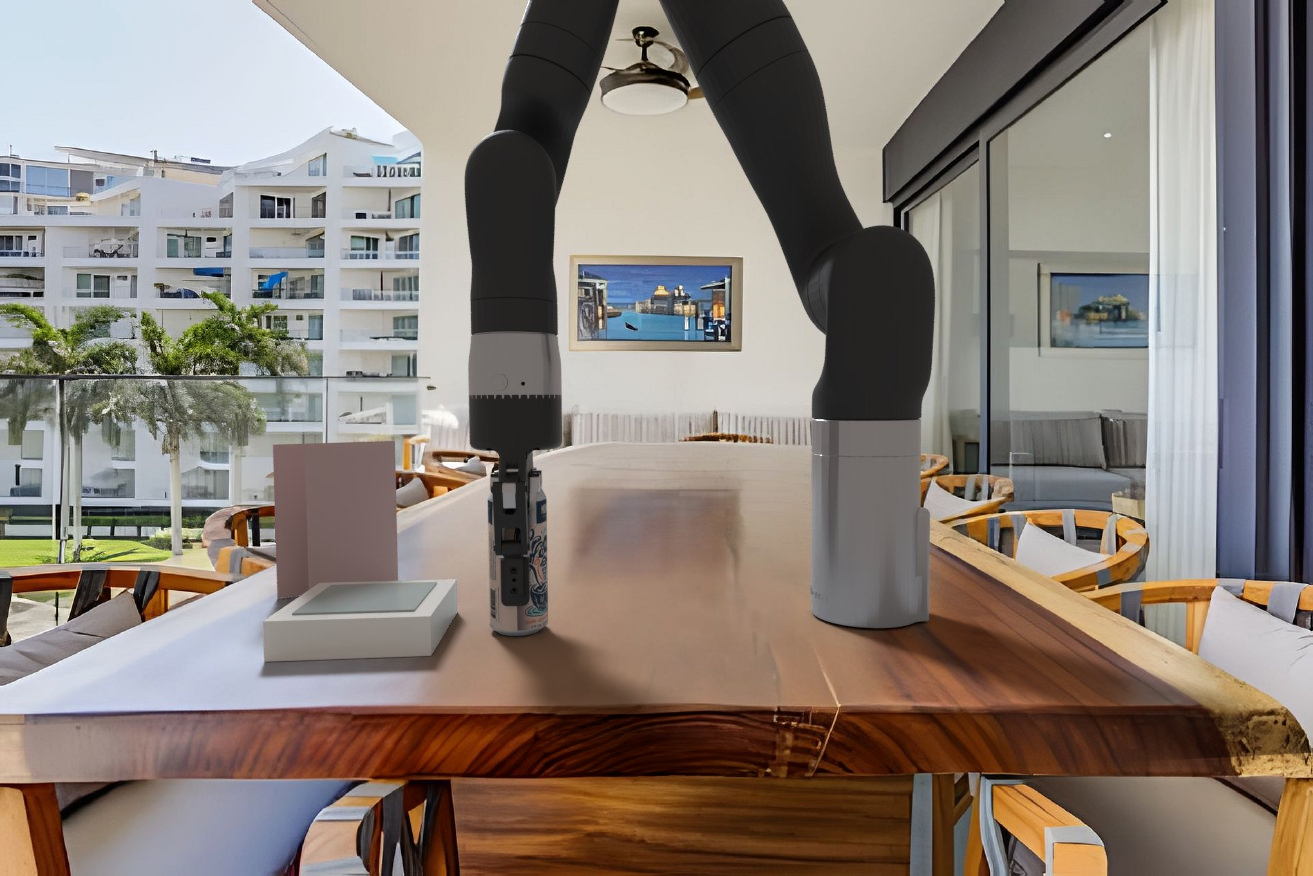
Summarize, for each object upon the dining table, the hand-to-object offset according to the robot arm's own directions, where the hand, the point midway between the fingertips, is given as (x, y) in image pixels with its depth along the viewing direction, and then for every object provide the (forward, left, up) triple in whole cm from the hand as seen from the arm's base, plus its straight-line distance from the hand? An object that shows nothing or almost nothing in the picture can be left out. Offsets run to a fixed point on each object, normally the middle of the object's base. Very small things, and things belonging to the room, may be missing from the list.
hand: (518, 595), depth 64 cm
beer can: (0, 0, -3) cm, 3 cm away
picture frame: (+12, 0, -3) cm, 12 cm away
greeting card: (+18, -13, -3) cm, 22 cm away
